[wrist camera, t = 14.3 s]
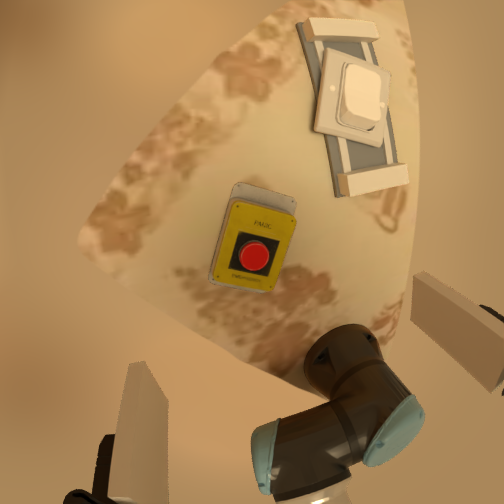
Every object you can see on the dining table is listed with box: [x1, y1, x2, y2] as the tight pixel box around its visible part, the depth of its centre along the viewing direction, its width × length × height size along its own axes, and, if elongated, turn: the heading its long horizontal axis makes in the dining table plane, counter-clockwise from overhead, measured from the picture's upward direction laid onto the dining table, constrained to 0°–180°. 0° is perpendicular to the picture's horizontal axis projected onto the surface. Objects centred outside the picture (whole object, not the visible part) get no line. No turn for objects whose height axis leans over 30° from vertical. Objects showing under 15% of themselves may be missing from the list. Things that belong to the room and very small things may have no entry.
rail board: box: [296, 18, 409, 198], centre depth 35 cm, size 27×12×4 cm, turn 13°
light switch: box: [314, 48, 391, 148], centre depth 34 cm, size 11×4×13 cm
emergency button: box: [208, 182, 296, 293], centre depth 39 cm, size 9×4×15 cm
